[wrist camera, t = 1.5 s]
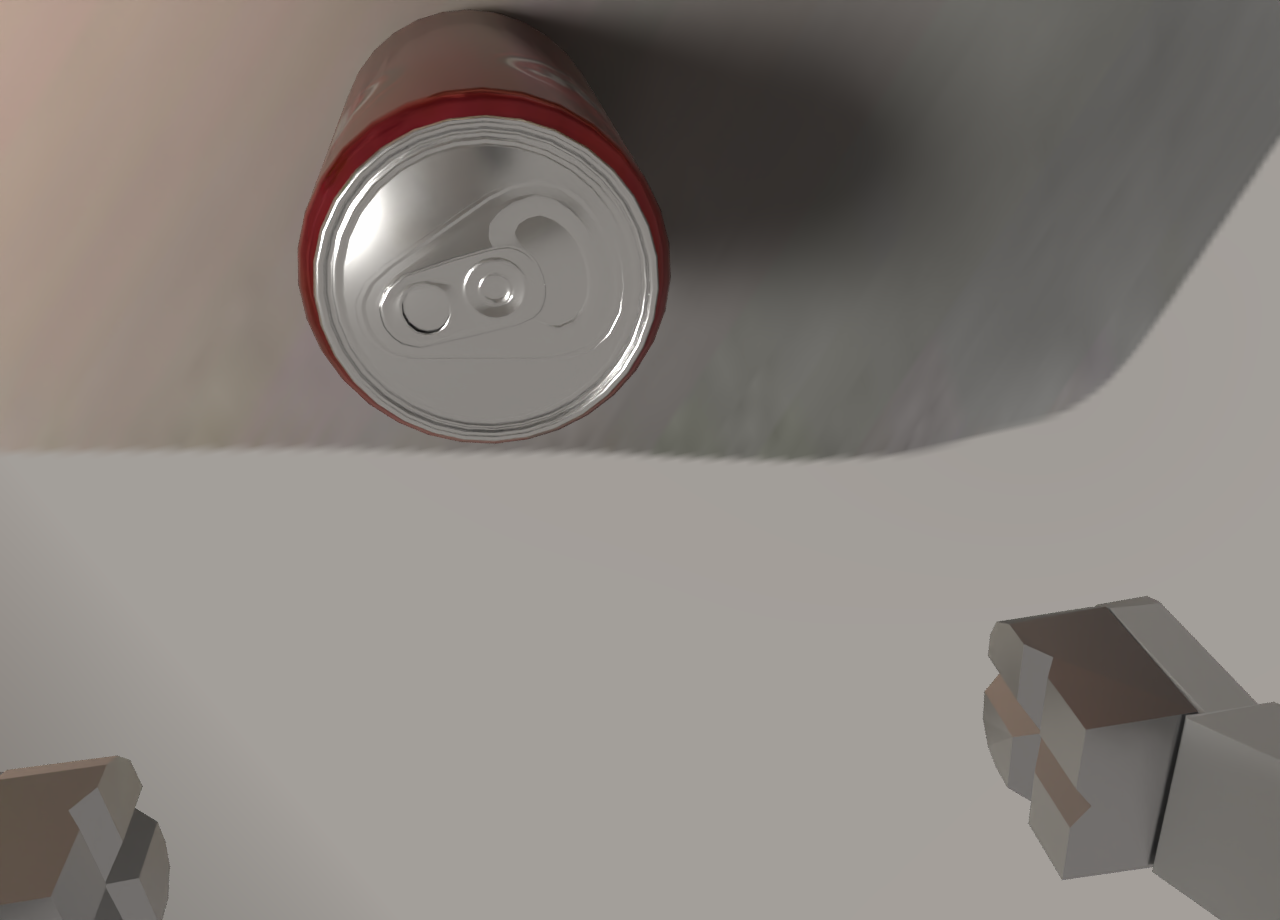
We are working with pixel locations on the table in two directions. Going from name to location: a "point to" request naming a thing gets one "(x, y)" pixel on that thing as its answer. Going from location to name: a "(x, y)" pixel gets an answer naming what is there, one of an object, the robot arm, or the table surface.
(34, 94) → the table surface
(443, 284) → the soda can
